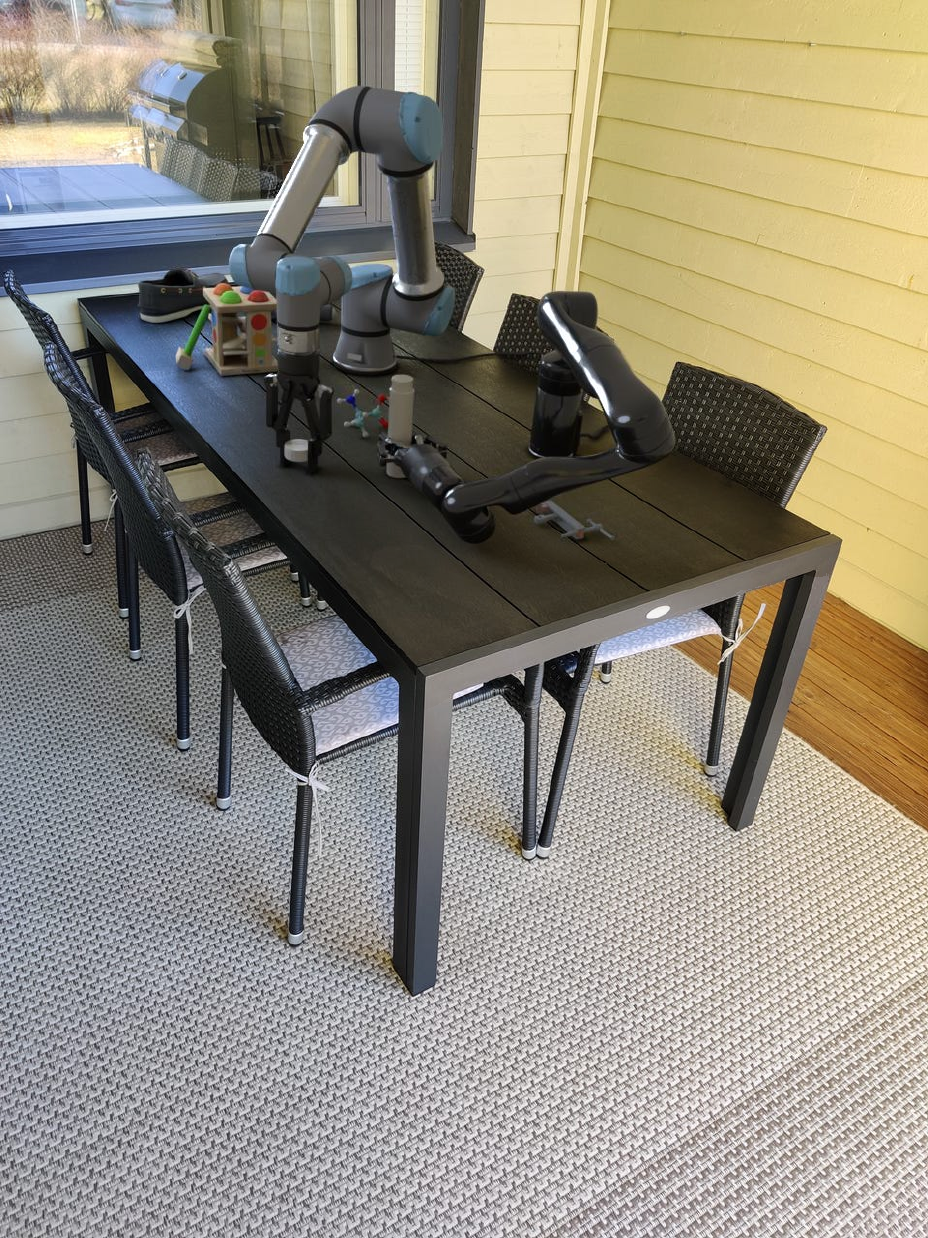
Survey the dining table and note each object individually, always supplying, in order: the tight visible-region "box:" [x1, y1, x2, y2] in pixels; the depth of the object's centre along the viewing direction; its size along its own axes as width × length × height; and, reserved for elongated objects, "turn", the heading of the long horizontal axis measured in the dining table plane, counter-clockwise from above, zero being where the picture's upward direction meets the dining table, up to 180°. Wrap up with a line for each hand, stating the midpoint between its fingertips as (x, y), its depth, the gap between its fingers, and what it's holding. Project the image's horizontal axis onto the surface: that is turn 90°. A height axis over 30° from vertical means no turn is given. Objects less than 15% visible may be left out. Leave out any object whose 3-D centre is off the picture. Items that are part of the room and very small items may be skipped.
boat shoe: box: [137, 266, 230, 324], centre depth 260 cm, size 13×33×10 cm, turn 147°
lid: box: [284, 438, 309, 463], centre depth 187 cm, size 5×5×2 cm
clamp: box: [533, 500, 616, 542], centre depth 177 cm, size 15×2×10 cm
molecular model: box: [336, 388, 390, 438], centre depth 204 cm, size 12×10×10 cm
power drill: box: [271, 304, 338, 322], centre depth 265 cm, size 5×19×20 cm
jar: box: [385, 374, 415, 479], centre depth 186 cm, size 5×5×19 cm
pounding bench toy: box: [174, 283, 279, 377], centre depth 225 cm, size 23×14×18 cm, turn 116°
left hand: (299, 466), depth 189 cm, fingers closed on lid, 5 cm apart
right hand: (394, 434), depth 189 cm, fingers closed on jar, 4 cm apart
